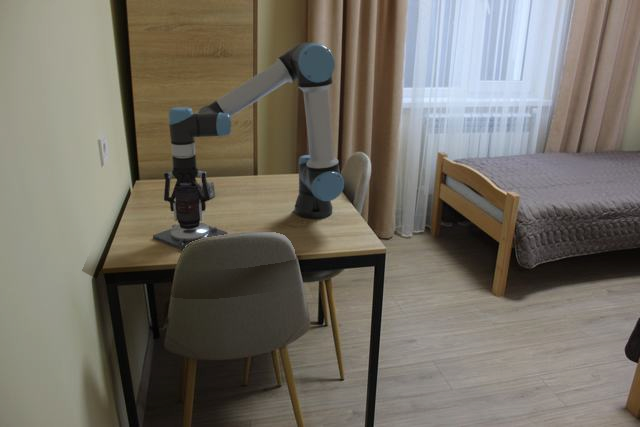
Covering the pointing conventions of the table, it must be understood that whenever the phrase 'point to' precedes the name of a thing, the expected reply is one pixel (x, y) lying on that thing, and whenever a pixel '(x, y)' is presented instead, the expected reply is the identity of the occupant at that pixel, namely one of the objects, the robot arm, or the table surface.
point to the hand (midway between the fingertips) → (189, 219)
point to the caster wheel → (211, 189)
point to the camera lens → (187, 205)
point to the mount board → (175, 243)
